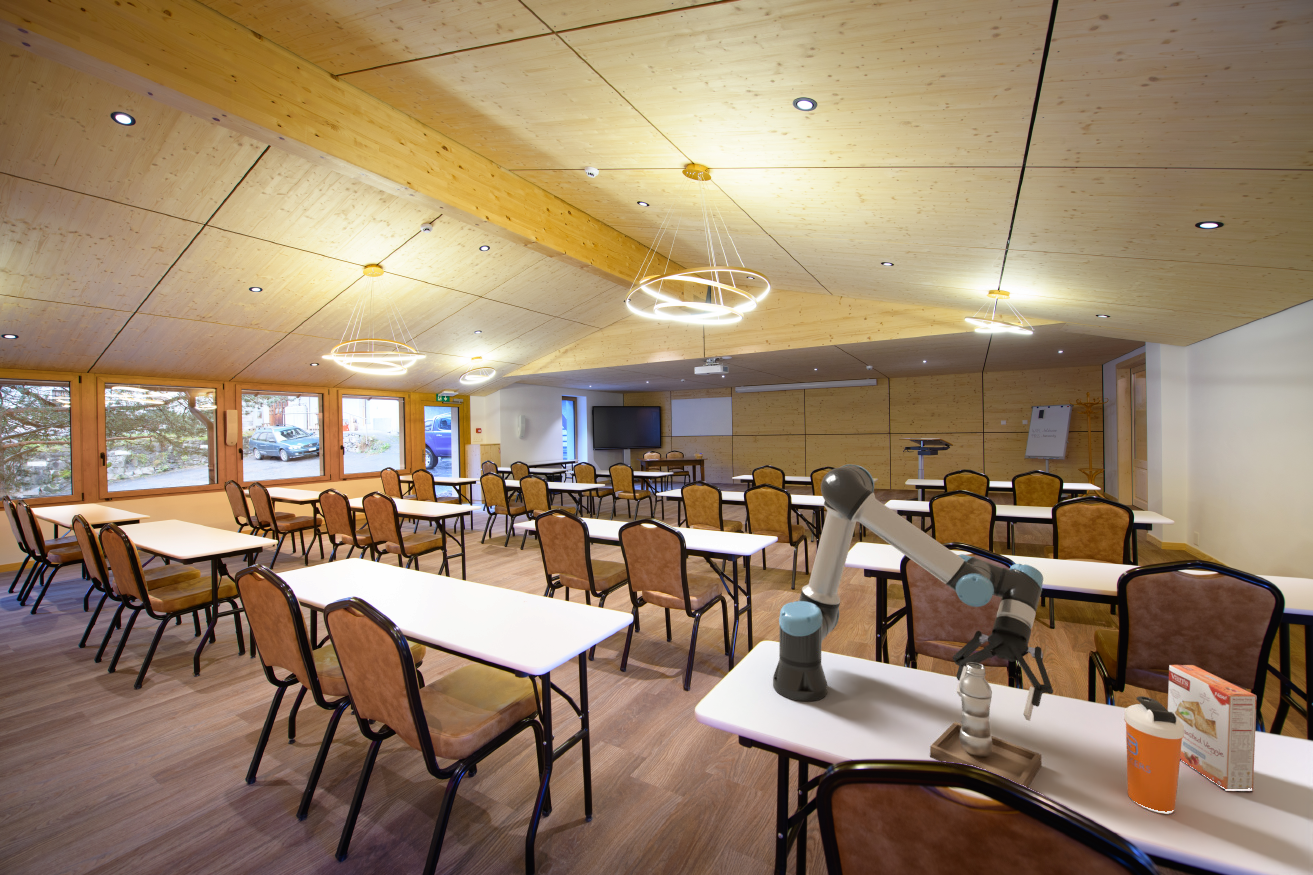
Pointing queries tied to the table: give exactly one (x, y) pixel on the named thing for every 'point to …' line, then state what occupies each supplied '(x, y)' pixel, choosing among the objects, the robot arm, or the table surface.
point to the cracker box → (1214, 725)
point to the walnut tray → (1001, 761)
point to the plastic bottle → (975, 711)
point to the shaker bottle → (1153, 754)
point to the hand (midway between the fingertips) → (991, 705)
